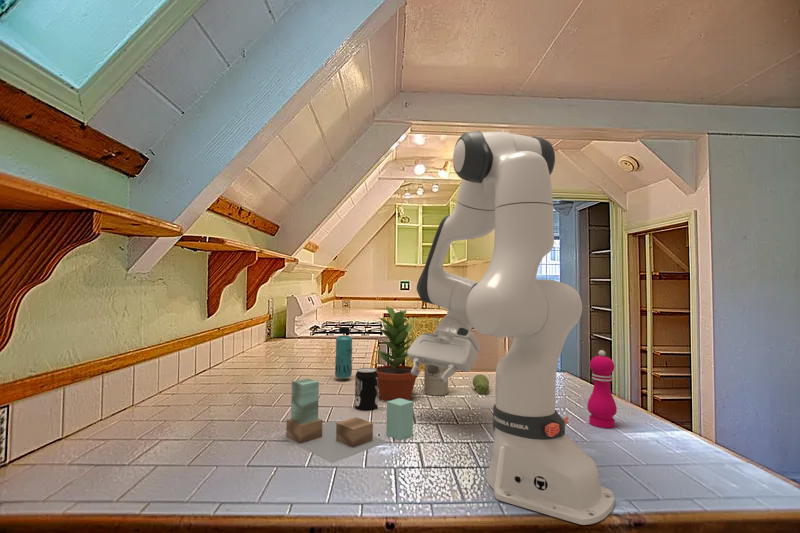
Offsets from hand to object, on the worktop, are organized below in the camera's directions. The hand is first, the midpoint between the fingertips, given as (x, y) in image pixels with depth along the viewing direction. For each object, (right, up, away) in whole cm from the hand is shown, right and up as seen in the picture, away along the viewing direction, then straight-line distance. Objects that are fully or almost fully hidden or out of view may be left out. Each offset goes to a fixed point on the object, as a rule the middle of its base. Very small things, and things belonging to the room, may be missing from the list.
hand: (427, 377), depth 111 cm
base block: (-18, -12, -12) cm, 24 cm away
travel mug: (+5, -14, +34) cm, 38 cm away
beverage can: (-17, -14, +14) cm, 26 cm away
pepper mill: (+48, -14, +5) cm, 50 cm away
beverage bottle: (-29, -14, +51) cm, 60 cm away
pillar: (-7, -13, -8) cm, 17 cm away
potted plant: (-8, -14, +29) cm, 33 cm away
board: (-23, -13, -11) cm, 28 cm away
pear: (+21, -15, +37) cm, 46 cm away
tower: (-30, -11, -10) cm, 33 cm away
